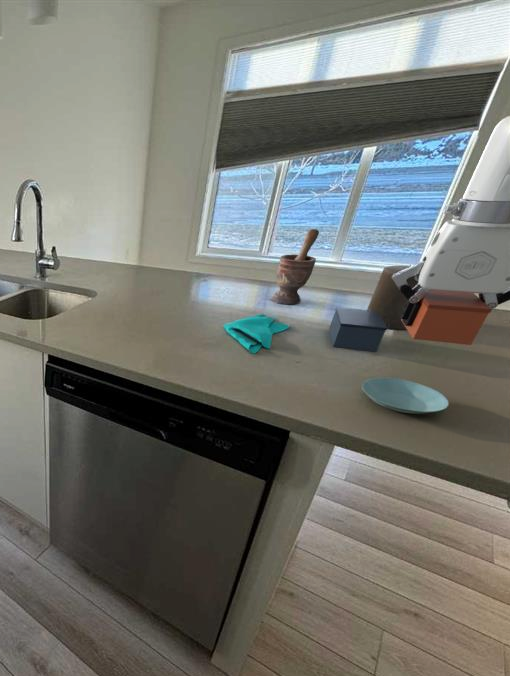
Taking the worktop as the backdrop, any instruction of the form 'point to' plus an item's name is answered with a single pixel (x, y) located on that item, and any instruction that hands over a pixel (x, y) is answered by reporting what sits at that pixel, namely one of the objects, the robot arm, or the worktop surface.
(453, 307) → the container
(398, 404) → the saucer
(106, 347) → the worktop surface
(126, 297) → the worktop surface
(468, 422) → the worktop surface
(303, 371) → the worktop surface
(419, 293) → the robot arm
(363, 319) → the bottom container
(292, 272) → the mortar and pestle
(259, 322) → the cloth
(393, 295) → the pillar candle
